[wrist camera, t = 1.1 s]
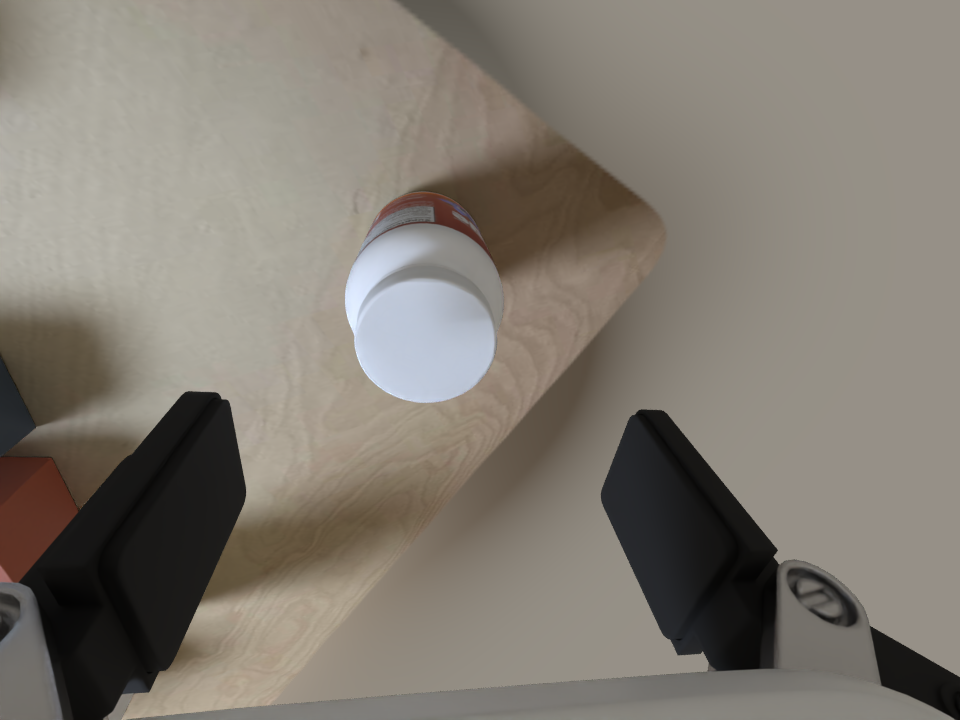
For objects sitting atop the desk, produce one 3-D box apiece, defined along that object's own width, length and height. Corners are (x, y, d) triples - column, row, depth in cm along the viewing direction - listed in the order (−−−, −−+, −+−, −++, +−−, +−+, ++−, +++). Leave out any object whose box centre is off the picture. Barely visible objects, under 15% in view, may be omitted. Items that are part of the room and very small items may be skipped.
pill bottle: (494, 281, 25) (538, 392, 15) (394, 314, 25) (378, 441, 16) (461, 171, 21) (493, 225, 12) (347, 210, 22) (291, 292, 12)
